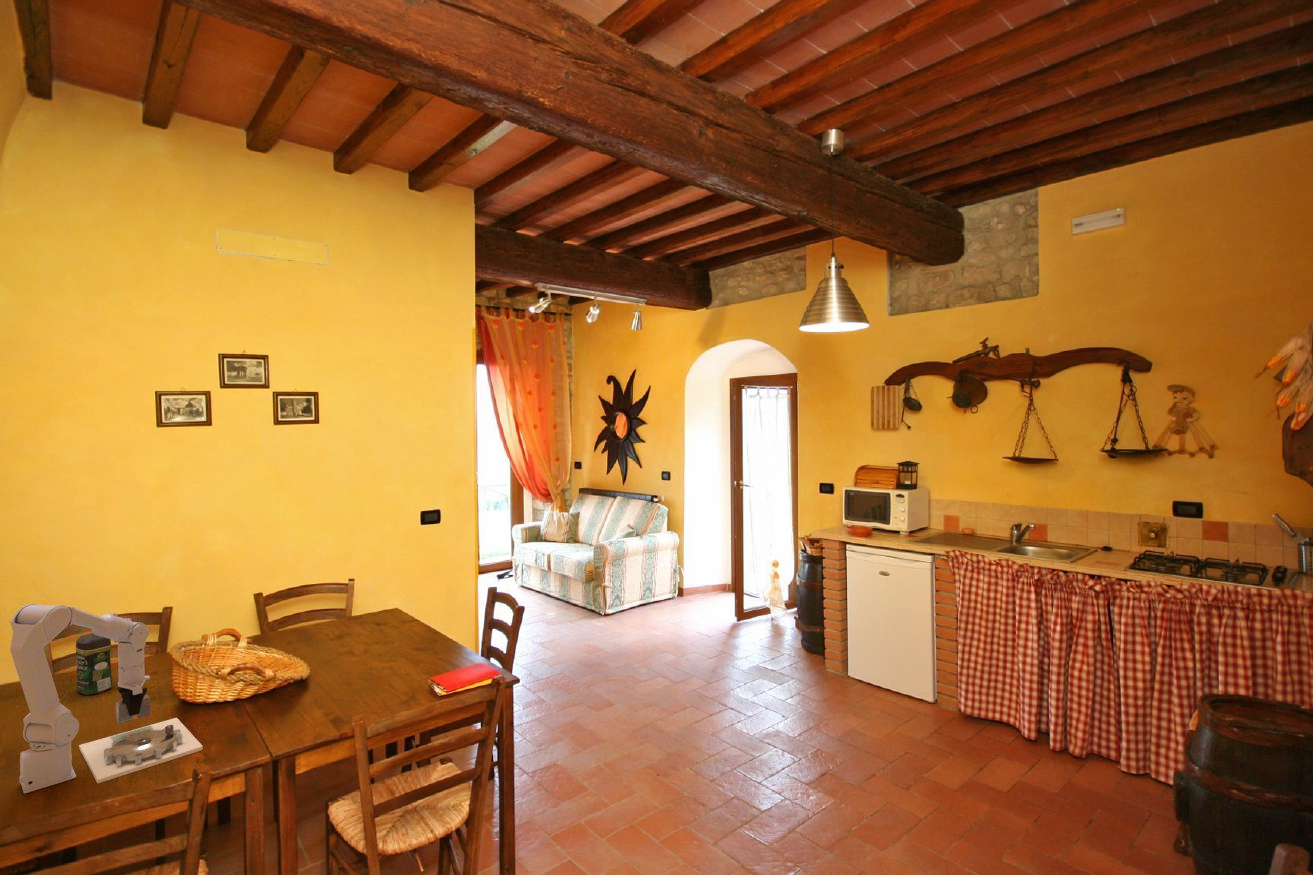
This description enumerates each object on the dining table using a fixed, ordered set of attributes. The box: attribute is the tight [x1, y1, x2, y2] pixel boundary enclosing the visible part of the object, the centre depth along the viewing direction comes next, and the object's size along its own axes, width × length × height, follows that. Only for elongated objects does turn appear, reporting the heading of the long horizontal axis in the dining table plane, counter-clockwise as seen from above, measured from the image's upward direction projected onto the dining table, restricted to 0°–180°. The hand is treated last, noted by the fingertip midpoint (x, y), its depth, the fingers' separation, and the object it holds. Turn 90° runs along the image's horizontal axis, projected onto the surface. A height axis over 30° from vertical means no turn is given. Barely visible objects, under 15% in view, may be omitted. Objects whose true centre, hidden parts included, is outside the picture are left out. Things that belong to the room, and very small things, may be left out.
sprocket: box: [104, 725, 183, 766], centre depth 176 cm, size 17×17×5 cm
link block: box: [115, 694, 151, 724], centre depth 185 cm, size 7×4×5 cm, turn 139°
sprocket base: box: [78, 717, 204, 784], centre depth 178 cm, size 22×26×1 cm
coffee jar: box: [75, 632, 113, 696], centre depth 217 cm, size 10×8×19 cm
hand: (132, 712), depth 184 cm, fingers closed on link block, 3 cm apart
